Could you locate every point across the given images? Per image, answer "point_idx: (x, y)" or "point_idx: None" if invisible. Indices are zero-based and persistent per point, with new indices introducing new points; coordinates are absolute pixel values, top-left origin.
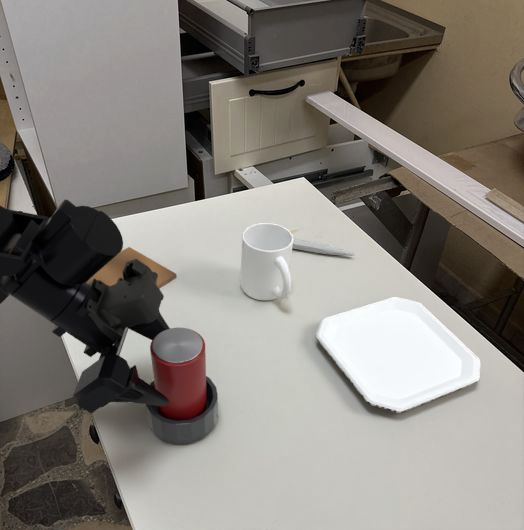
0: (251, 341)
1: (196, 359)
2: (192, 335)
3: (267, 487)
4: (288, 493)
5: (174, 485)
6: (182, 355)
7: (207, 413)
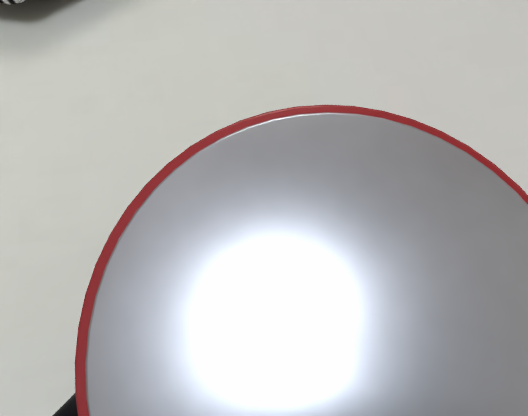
0: (12, 171)
1: (459, 142)
2: (193, 215)
3: (464, 88)
4: (467, 48)
5: None
6: (479, 258)
7: None
